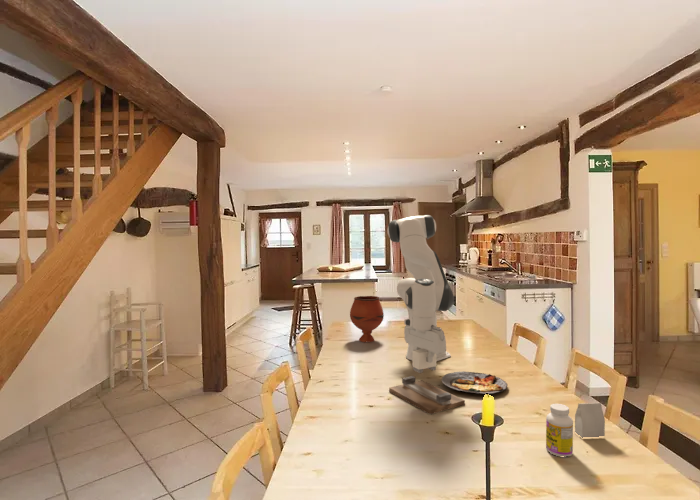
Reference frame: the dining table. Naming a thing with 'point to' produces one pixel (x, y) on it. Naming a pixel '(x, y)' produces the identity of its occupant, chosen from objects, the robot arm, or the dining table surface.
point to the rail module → (422, 360)
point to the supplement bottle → (559, 431)
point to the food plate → (474, 382)
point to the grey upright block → (589, 420)
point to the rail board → (425, 395)
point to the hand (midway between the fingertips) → (424, 360)
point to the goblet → (366, 315)
